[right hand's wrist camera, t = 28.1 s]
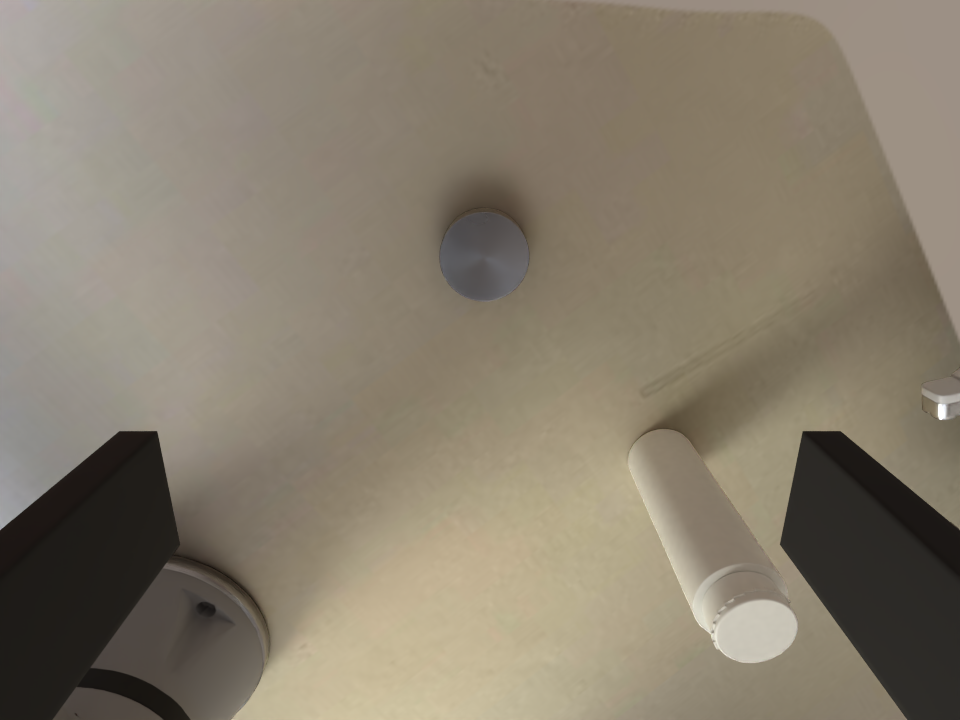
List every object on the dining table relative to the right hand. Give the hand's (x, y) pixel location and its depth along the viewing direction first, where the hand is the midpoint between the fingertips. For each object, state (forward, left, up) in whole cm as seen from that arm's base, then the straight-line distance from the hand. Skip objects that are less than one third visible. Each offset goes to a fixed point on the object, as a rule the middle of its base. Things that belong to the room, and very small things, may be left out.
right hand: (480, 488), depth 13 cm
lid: (0, 0, -24) cm, 24 cm away
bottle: (-14, -12, -26) cm, 32 cm away
